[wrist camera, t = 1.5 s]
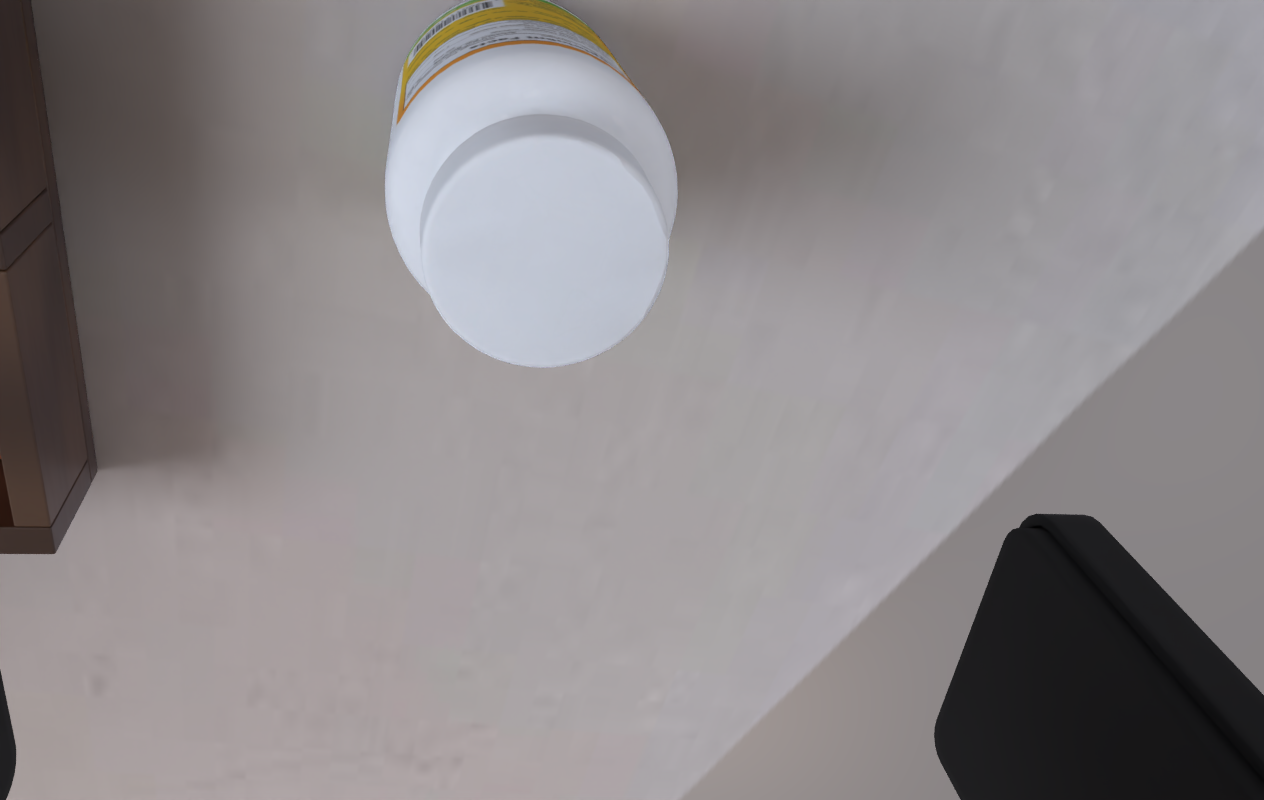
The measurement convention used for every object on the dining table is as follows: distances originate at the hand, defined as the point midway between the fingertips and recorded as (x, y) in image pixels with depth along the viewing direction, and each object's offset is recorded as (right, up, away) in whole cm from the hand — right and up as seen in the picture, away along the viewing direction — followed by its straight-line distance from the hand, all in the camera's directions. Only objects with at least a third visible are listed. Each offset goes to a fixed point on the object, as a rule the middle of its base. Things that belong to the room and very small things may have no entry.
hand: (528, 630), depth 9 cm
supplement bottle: (-2, +9, +15) cm, 18 cm away
